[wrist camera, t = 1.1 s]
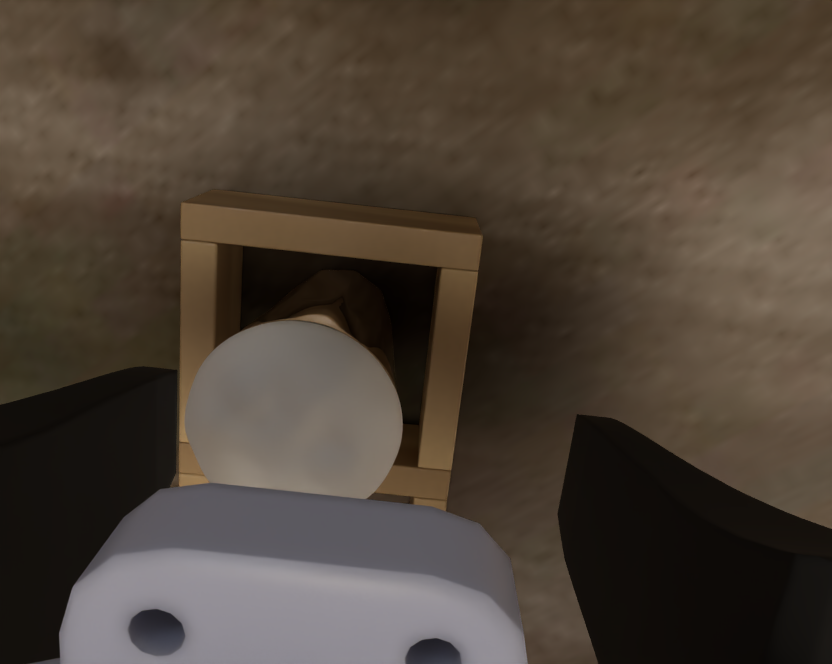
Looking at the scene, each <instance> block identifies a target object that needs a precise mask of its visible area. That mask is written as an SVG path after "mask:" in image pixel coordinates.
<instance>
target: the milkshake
mask: <svg viewBox="0 0 832 664" xmlns="http://www.w3.org/2000/svg"><path fill="white" fill-rule="evenodd" d="M184 424H185V431H186V435H187V438H188V441H189V443H190V445H191V448H192V450H193V452H194V454H195V457H196V459H197V461H198V463H199V466H200V468H201V470H202V472H203V473H204V475H205V477H206V478H207V480H208V481H209V482H210V483H219V484H229V485H238V486H247V487H257V488H266V489H275V490H284V491H294V492H303V493H312V494H321V495H331V496H340V497H349V498H359V499H366V498H368V497H369V496H370V495H371V494H373V493H374V492H375V491H376V490H377V489H378V487H379V486H380V485H381V484H382V482H383V481H384V479H385V478H386V476H387V474H388V473H389V471H390V469H391V467H392V465H393V463H394V461H395V459H396V456H397V454H398V451H399V448H400V444H401V439H402V430H403V419H402V410H401V405H400V401H399V395H398V388H397V382H396V376H395V367H394V352H393V338H392V324H391V319H390V316H389V313H388V309H387V306H386V303H385V300H384V297H383V293H382V290H381V289H379V288H378V287H377V286H375V285H374V284H373V283H371V282H370V281H369V280H367V279H366V278H365V277H363V276H362V275H361V274H359V273H358V272H357V271H355V270H328V269H322V270H320V271H319V272H318V273H316V274H315V275H313V276H312V277H310V278H309V279H307V280H306V281H304V282H303V283H301V284H300V285H298V286H297V287H296V288H294V289H293V290H292V291H291V292H290V293H288V294H287V295H286V296H285V297H284V298H283V299H281V300H280V301H279V302H278V303H277V304H276V305H275V306H273V307H272V308H271V309H270V310H269V311H268V312H266V313H265V314H263V315H262V316H260V317H259V318H257V319H256V320H255V321H253V322H252V323H250V324H249V325H247V326H246V327H245V328H243V329H242V330H241V331H239V332H238V333H236V334H235V335H233V336H232V337H230V338H228V339H227V340H225V341H224V342H223V343H221V344H220V345H219V346H218V347H216V348H215V349H214V350H213V351H212V352H211V353H210V354H209V356H208V357H207V358H206V359H205V361H204V362H203V363H202V365H201V367H200V368H199V370H198V372H197V374H196V376H195V379H194V381H193V384H192V387H191V390H190V393H189V397H188V400H187V404H186V409H185V419H184Z"/></svg>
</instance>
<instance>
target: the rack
mask: <svg viewBox="0 0 832 664" xmlns="http://www.w3.org/2000/svg"><path fill="white" fill-rule="evenodd" d="M180 237H181V239H183V240H182V241H181V279H180V401H179V440H180V443H179V472H180V473H179V487H181V486H188V485H196V484H204V483H210V482H209V481H208V480H207V478H206V477H205V475H204V473H203V472H202V470H201V468H200V466H199V463H198V461H197V459H196V457H195V454H194V452H193V450H192V448H191V445H190V443H189V441H188V438H187V435H186V431H185V424H184V419H185V409H186V404H187V400H188V397H189V393H190V390H191V387H192V384H193V381H194V379H195V376H196V374H197V372H198V370H199V368H200V367H201V365H202V363H203V362H204V361H205V359H206V358H207V357H208V356H209V354H210V353H211V352H212V351H213V350H214V349H215V348H216V347H218V346H219V345H220V344H221V343H223V342H224V341H225V340H227V339H228V338H230V337H232V336H233V335H235V334H236V333H238V332H239V331H240V319H241V290H242V261H243V246H249V247H258V248H267V249H277V250H286V251H295V252H305V253H314V254H323V255H332V256H342V257H351V258H360V259H369V260H379V261H388V262H397V263H407V264H416V265H425V266H434V267H437V275H436V283H435V292H434V300H433V309H432V317H431V326H430V334H429V343H428V351H427V360H426V368H425V377H424V385H423V394H422V402H421V411H420V419H419V425H412V424H403V430H402V439H401V444H400V448H399V451H398V454H397V456H396V459H395V461H394V463H393V465H392V467H391V469H390V471H389V473H388V474H387V476H386V478H385V479H384V481H383V482H382V484H381V485H380V486H379V487H378V489H377V490H376V491H375V492H374V493H382V494H391V495H401V496H410V504H414V505H424V506H432V507H435V508H437V509H440V510H443V511H446V507H447V498H448V492H449V484H450V477H451V469H452V462H453V455H454V448H455V440H456V433H457V425H458V418H459V411H460V403H461V396H462V388H463V381H464V374H465V366H466V359H467V351H468V344H469V337H470V329H471V322H472V314H473V307H474V300H475V292H476V285H477V277H478V269H479V262H480V255H481V248H482V240H483V235H482V233H481V230H480V228H479V225H478V223H477V220H476V218H473V217H464V216H455V215H446V214H437V213H427V212H418V211H409V210H400V209H391V208H382V207H372V206H363V205H354V204H345V203H336V202H327V201H317V200H308V199H299V198H290V197H281V196H271V195H262V194H253V193H244V192H235V191H226V190H216V189H213V190H210V191H208V192H206V193H203V194H201V195H198V196H196V197H193V198H191V199H188V200H186V201H183V202H181V232H180Z"/></svg>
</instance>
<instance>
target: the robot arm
mask: <svg viewBox="0 0 832 664" xmlns="http://www.w3.org/2000/svg"><path fill="white" fill-rule="evenodd" d="M176 429H177V370H172V369H163V368H154V367H145V366H142V367H133V368H128V369H124V370H120V371H116V372H113V373H109V374H106V375H102V376H99V377H96V378H93V379H89V380H86V381H83V382H80V383H76V384H73V385H70V386H67V387H63V388H60V389H57V390H53V391H50V392H46V393H42V394H39V395H35V396H32V397H28V398H24V399H21V400H17V401H13V402H10V403H6V404H2V405H0V664H528V662H527V654H526V646H525V639H524V632H523V626H522V621H521V615H520V609H519V604H518V598H517V593H516V587H515V581H514V576H513V570H512V565H511V559H510V558H509V556H508V555H507V554H506V553H505V552H504V551H503V550H502V548H501V547H500V546H499V545H498V544H497V543H496V542H495V540H494V539H493V538H492V537H491V536H490V535H489V534H488V532H487V531H486V530H485V529H484V528H483V527H482V526H481V524H480V523H477V522H474V521H471V520H468V519H466V518H463V517H460V516H457V515H454V514H452V513H449V512H446V511H443V510H440V509H437V508H435V507H432V506H424V505H414V504H405V503H396V502H386V501H377V500H368V499H359V498H349V497H340V496H331V495H321V494H312V493H303V492H294V491H284V490H275V489H266V488H257V487H247V486H238V485H229V484H219V483H204V484H196V485H188V486H181V487H173V488H169V487H170V485H171V483H172V480H173V478H174V476H175V474H176ZM558 520H559V527H560V534H561V540H562V546H563V552H564V558H565V562H566V565H567V568H568V572H569V575H570V578H571V581H572V584H573V587H574V590H575V593H576V597H577V600H578V603H579V606H580V609H581V612H582V615H583V618H584V621H585V624H586V627H587V630H588V633H589V636H590V639H591V642H592V645H593V648H594V651H595V654H596V657H597V660H598V664H832V529H830V528H827V527H824V526H822V525H819V524H816V523H813V522H810V521H808V520H805V519H802V518H799V517H797V516H794V515H792V514H789V513H787V512H784V511H782V510H780V509H777V508H775V507H773V506H771V505H768V504H766V503H764V502H762V501H760V500H757V499H755V498H753V497H751V496H748V495H746V494H744V493H742V492H740V491H738V490H736V489H734V488H732V487H730V486H728V485H726V484H725V483H723V482H721V481H719V480H717V479H716V478H714V477H712V476H710V475H708V474H706V473H705V472H703V471H701V470H699V469H698V468H696V467H694V466H693V465H691V464H689V463H687V462H686V461H684V460H683V459H681V458H679V457H678V456H676V455H674V454H673V453H671V452H670V451H668V450H666V449H665V448H663V447H662V446H660V445H658V444H657V443H655V442H654V441H652V440H650V439H649V438H647V437H646V436H644V435H642V434H641V433H639V432H638V431H636V430H634V429H633V428H631V427H629V426H627V425H626V424H624V423H622V422H620V421H618V420H615V419H612V418H606V417H597V416H588V415H579V414H577V417H576V422H575V427H574V433H573V438H572V443H571V448H570V453H569V458H568V463H567V468H566V473H565V479H564V484H563V489H562V494H561V499H560V504H559V509H558Z"/></svg>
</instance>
